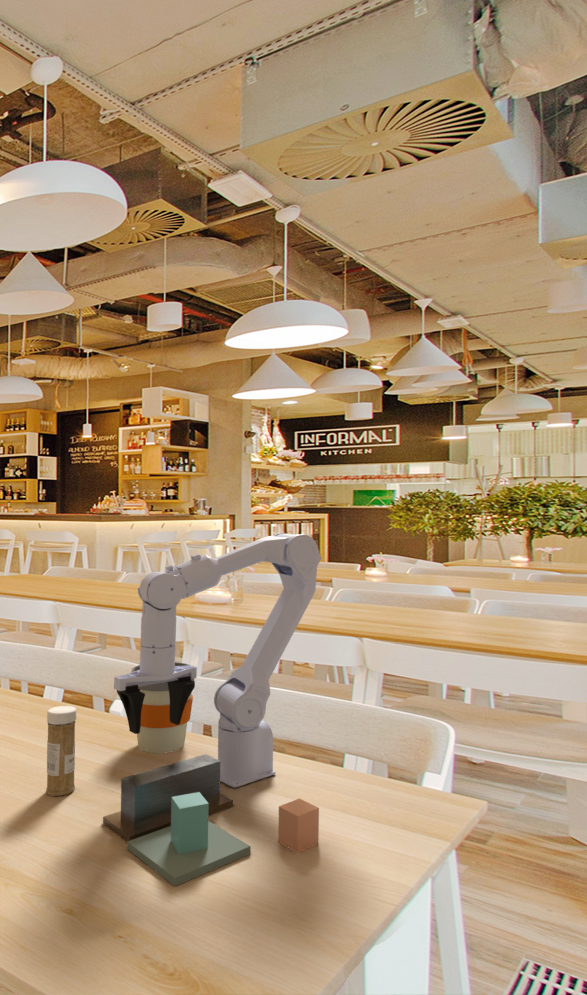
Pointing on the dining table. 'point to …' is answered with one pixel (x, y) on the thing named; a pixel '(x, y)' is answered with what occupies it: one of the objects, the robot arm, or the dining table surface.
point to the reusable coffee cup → (161, 719)
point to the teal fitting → (189, 822)
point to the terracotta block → (298, 825)
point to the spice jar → (61, 750)
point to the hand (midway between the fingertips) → (155, 727)
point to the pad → (188, 865)
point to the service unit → (165, 795)
